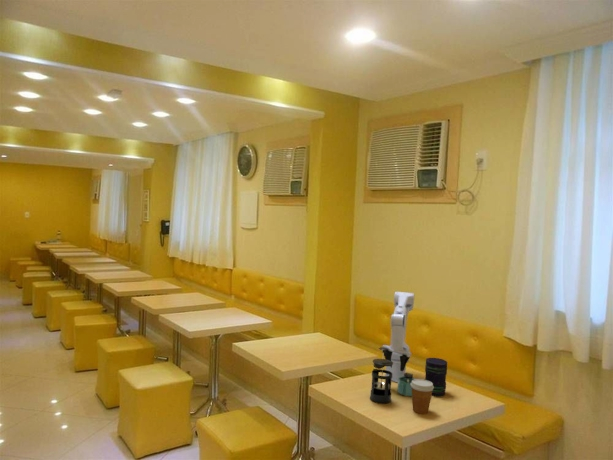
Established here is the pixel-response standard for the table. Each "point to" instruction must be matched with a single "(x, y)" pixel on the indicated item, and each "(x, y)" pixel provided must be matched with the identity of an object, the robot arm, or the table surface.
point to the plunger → (408, 376)
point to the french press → (381, 389)
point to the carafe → (405, 386)
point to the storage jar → (436, 375)
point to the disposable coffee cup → (421, 395)
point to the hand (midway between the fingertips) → (395, 368)
